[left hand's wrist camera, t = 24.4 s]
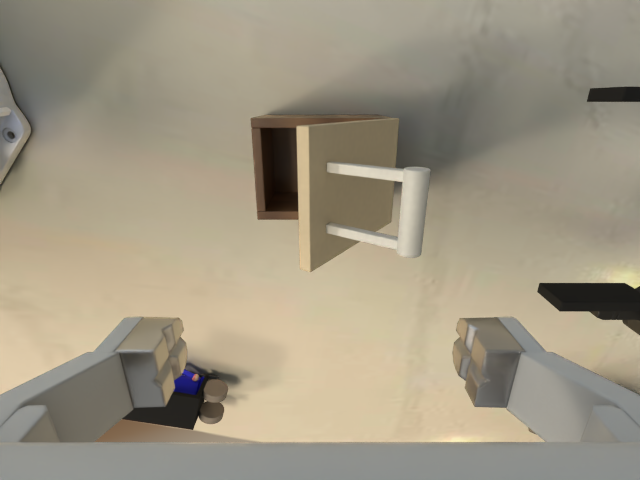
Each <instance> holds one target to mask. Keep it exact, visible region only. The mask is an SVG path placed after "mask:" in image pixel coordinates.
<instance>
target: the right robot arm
mask: <svg viewBox="0 0 640 480" xmlns="http://www.w3.org/2000/svg"><path fill="white" fill-rule="evenodd" d="M587 102H640V87H612V88H592V89H590V92H589V96H588V99H587ZM537 292H538V293H539V294H541V295H542V296H543V297H544V298H545V299H546V300H547V301H549V302H550V303H551V304H552V305H553V306H554V307H555V308H557V309H558V310H559V311H589V312H591V313H592V314H593V315H595V316H596V317H597V318H600V319H602V320H616V319H617V320H623V323H624V324H625V325H626V326H628V327H629V328H631V329H632V330H633V331H635V332H636V333H637V334H639V335H640V286H639V287H638V288H636V289H634V288H632V287H631V286H629V285H627V284H625V283H540V284H539V288H538V291H537Z"/></svg>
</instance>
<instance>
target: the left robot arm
mask: <svg viewBox="0 0 640 480" xmlns="http://www.w3.org/2000/svg"><path fill="white" fill-rule="evenodd" d="M12 132H13V133H14V135H15V137H13V135H12ZM30 134H31V127H30V125H29V123H28V121H27V119H26V118H25V116H24V115H23V113H22V112H21V111H20V109H19V108H18V107H17V105H16V104H15V102H14V99H13V97H12V94H11V91H10V88H9V85H8V82H7V80H6V77H5V75H4V73H3V72H2V70H1V68H0V184H1V182H2V181H3V179H4V177H5V176H6V174H7V172H8V171H9V169H10V167H11V166H12V164H13V162H14V161H15V159H16V157H17V156H18V154H19V152H20V151H21V149H22V147H23V146H24V144H25V142H26V141H27V139H28V137H29V136H30ZM183 331H184V328H183V324H182V320H181V319H180V318H170V317H127V318H124V319H123V320H122V321H121V322H120V323H119V325H118V326H117V327H116V328H115V329H114V330H113V331H112V332H111V333H110V334H109V335H108V337H107V338H106V339H105V340H104V341H103V342H102V343H101V344H100V345H99V346H98V348H97V349H96V350H95V351H94V352H87V353H85V354H83V355H81V356H79V357H77V358H75V359H73V360H71V361H69V362H66V363H64V364H62V365H60V366H58V367H56V368H54V369H52V370H50V371H48V372H46V373H44V374H42V375H40V376H38V377H36V378H34V379H32V380H30V381H28V382H26V383H23V384H21V385H19V386H17V387H15V388H13V389H11V390H9V391H7V392H5V393H3V394H1V395H0V480H640V395H639V394H637V393H635V392H633V391H631V390H629V389H627V388H624V387H622V386H620V385H618V384H616V383H614V382H612V381H610V380H608V379H606V378H604V377H602V376H600V375H598V374H596V373H594V372H592V371H590V370H588V369H586V368H584V367H582V366H580V365H578V364H575V363H573V362H571V361H569V360H567V359H565V358H563V357H561V356H559V355H557V354H555V353H553V352H546V351H545V350H544V349H543V348H542V346H541V345H540V344H539V343H538V342H537V341H536V340H535V339H534V338H533V337H532V335H531V334H530V333H529V332H528V331H527V330H526V329H525V328H524V327H523V326H522V325H521V323H520V322H519V321H518V320H517V319H516V318H514V317H494V318H460V319H459V321H458V323H457V328H456V331H457V333H458V334H459V336H460V337H459V338H458V339H457V340H456V341H455V342H454V346H453V362H454V365H455V369H456V371H457V373H458V375H459V376H460V377H461V378H463V379H464V380H466V384H465V389H466V391H467V393H468V395H469V397H470V399H471V401H472V403H473V404H474V406H475V407H500V408H507V410H508V411H509V412H511V413H512V414H513V415H514V416H515V417H517V418H518V419H519V420H520V421H521V422H523V423H524V424H525V425H526V426H527V427H529V428H530V429H531V430H532V431H533V432H535V433H536V434H537V435H538V436H539V437H541V438H542V439H543V440H544V441H545V442H94V441H96V440H97V439H98V438H99V437H101V436H102V435H103V434H104V433H105V432H107V431H108V430H109V429H110V428H111V427H113V426H114V425H115V424H116V423H118V422H119V421H120V420H121V419H122V418H124V417H125V416H126V415H127V414H128V413H130V412H131V411H132V410H133V408H140V407H165V406H166V405H167V403H168V401H169V399H170V397H171V395H172V393H173V391H174V389H175V384H174V380H176V379H177V378H179V377H180V376H181V375H182V373H183V371H184V369H185V365H186V361H187V346H186V342H185V341H184V340H183V339H182V338H181V337H180V336H181V334H182V333H183Z"/></svg>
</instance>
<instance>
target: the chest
mask: <svg viewBox="0 0 640 480" xmlns="http://www.w3.org/2000/svg"><path fill="white" fill-rule="evenodd" d="M386 118H390V117H386V116H381V115H262V116H258V117H254V118H251V127H252V143H253V158H254V172H255V187H256V201H257V217H258V220H268V219H299V211H298V169H297V126H301V125H313V124H325V123H337V122H349V121H362V120H374V119H386Z"/></svg>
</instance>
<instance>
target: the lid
mask: <svg viewBox="0 0 640 480" xmlns="http://www.w3.org/2000/svg"><path fill="white" fill-rule="evenodd" d="M398 128H399V118H386V119H374V120H362V121H349V122H337V123H325V124H313V125H301V126H297V169H298V211H299V253H300V269H302V270H305V271H308V272H312V271H313V270H315V269H316V268H318V267H320V266H321V265H323V264H324V263H326V262H328V261H329V260H331V259H333V258H334V257H336V256H337V255H339V254H341V253H342V252H344V251H345V250H347V249H349V248H350V247H352V246H353V245H355V244H357V243H358V242H360V241H361V242H365V243H369V244H374V245H378V246H382V247H386V248H390V249H394V250H397V254H398V255H400V256H403V257H407V258H415V257H419V256H420V255H421V250H422V241H423V233H424V224H425V215H426V207H427V198H428V189H429V181H430V172H431V170H430V169H429V168H425V167H406V168H404V169H399V168H395V167H396V154H397V141H398ZM394 181H398V182H403V183H402V194H401V206H400V217H399V229H398V237H396V236H391V235H387V234H382V233H378V232H376V231H378V230H379V229H381V228H382V227H384V226H386V225H387V224H389V223H390V222H391V218H392V205H393V192H394Z"/></svg>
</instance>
